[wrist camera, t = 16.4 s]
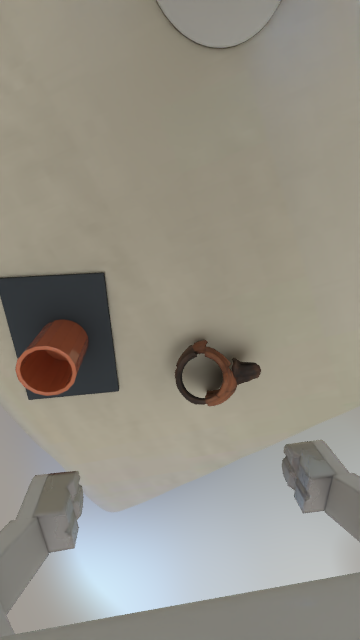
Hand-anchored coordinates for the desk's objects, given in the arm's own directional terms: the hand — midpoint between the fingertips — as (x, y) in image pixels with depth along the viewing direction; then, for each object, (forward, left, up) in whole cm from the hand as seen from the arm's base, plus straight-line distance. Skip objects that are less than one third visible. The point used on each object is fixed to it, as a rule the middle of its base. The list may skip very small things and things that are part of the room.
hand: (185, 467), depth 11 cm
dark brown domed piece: (+13, +8, -29) cm, 33 cm away
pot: (+7, -13, -28) cm, 32 cm away
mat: (+7, -13, -29) cm, 33 cm away
